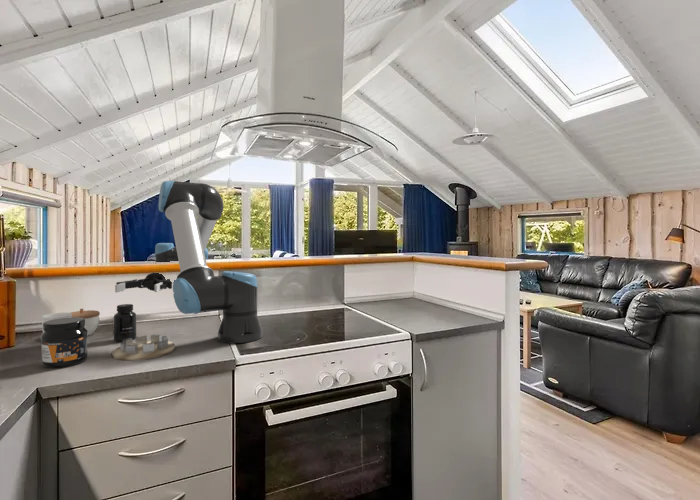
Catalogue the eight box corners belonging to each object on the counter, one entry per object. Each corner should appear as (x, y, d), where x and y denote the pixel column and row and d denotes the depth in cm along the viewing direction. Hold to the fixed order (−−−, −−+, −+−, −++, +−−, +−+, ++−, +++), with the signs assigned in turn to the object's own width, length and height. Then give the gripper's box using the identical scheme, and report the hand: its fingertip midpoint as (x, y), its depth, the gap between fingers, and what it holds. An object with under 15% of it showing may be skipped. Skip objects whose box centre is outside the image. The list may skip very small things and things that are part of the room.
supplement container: (35, 371, 100) (34, 326, 100) (48, 359, 110) (47, 318, 109) (83, 366, 104) (82, 323, 104) (91, 354, 114) (90, 315, 114)
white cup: (78, 343, 125) (77, 313, 125) (51, 350, 118) (50, 318, 118) (64, 340, 129) (63, 311, 128) (36, 347, 122) (36, 316, 121)
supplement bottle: (126, 343, 126) (125, 307, 126) (108, 341, 128) (107, 306, 127) (141, 337, 133) (140, 303, 133) (124, 336, 134) (124, 302, 134)
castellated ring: (175, 342, 123) (175, 335, 123) (150, 355, 110) (150, 347, 110) (139, 341, 125) (139, 333, 125) (110, 353, 112) (110, 345, 112)
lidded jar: (81, 330, 143) (80, 305, 142) (107, 331, 141) (106, 306, 141) (55, 337, 132) (54, 311, 132) (83, 339, 131) (82, 312, 130)
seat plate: (185, 344, 125) (185, 341, 125) (152, 361, 108) (152, 358, 108) (137, 342, 127) (137, 339, 127) (98, 359, 110) (98, 355, 110)
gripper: (187, 289, 163) (171, 298, 142) (125, 289, 159) (99, 299, 138) (187, 271, 162) (171, 278, 141) (125, 272, 159) (99, 278, 138)
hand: (136, 288), depth 140 cm, fingers open, 13 cm apart
